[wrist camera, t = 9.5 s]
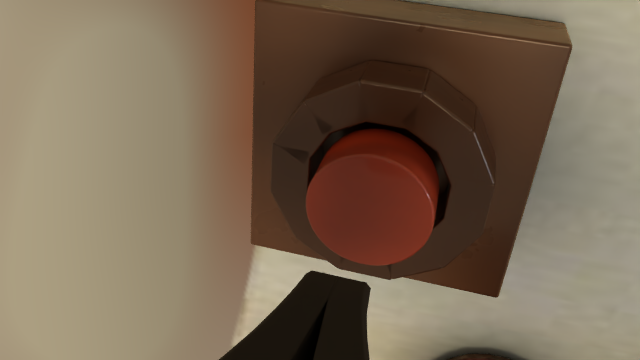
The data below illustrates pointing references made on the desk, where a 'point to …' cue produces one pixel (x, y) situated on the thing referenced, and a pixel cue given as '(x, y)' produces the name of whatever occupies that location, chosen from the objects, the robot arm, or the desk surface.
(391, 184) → the button
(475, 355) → the can
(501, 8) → the desk surface
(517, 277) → the desk surface
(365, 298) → the robot arm
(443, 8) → the button block
